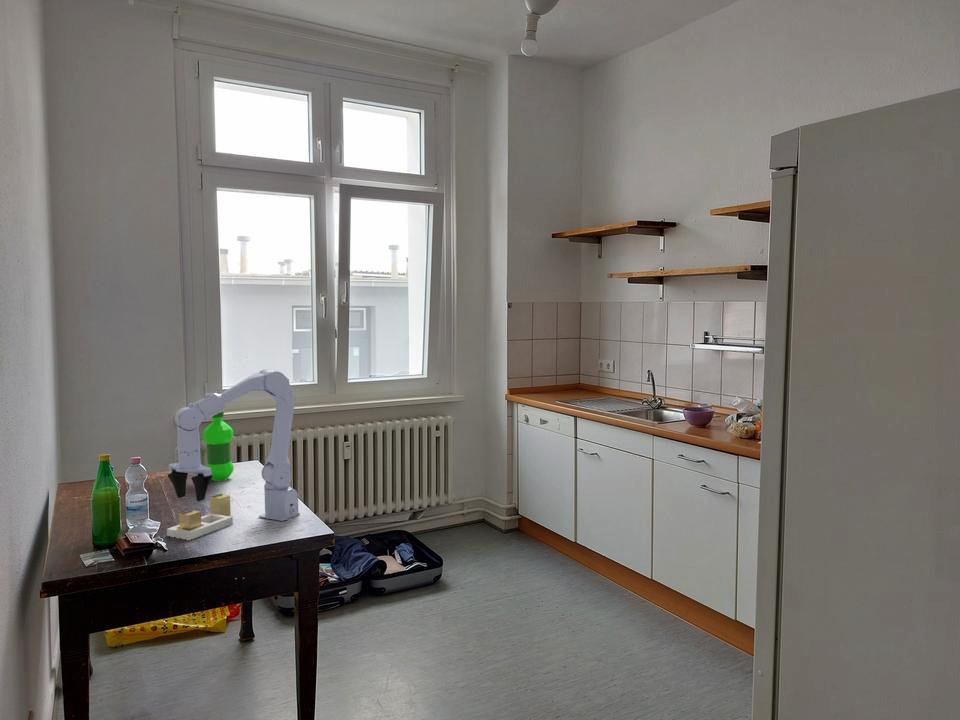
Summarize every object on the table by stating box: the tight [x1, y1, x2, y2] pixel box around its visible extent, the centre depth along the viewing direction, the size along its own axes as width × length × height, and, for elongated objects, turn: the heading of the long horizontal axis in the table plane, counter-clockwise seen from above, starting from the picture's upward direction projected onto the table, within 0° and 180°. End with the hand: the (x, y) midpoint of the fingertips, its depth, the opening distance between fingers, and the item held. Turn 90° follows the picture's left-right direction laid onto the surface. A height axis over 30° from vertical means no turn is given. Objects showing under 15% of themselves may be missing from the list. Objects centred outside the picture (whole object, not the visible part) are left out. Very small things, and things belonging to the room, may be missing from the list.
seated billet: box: [178, 509, 202, 531], centre depth 188 cm, size 4×4×6 cm
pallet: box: [166, 513, 234, 541], centre depth 191 cm, size 8×16×2 cm, turn 155°
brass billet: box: [209, 493, 232, 516], centre depth 204 cm, size 4×4×6 cm
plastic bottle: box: [202, 410, 235, 482], centre depth 246 cm, size 10×10×25 cm
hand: (191, 498), depth 189 cm, fingers open, 7 cm apart
